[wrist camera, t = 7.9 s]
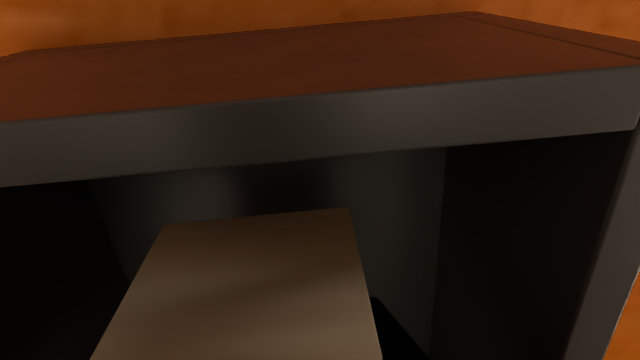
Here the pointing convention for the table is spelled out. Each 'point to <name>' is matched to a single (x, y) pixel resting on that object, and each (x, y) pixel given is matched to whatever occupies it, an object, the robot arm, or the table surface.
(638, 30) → the table surface
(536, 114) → the case
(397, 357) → the robot arm
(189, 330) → the block
